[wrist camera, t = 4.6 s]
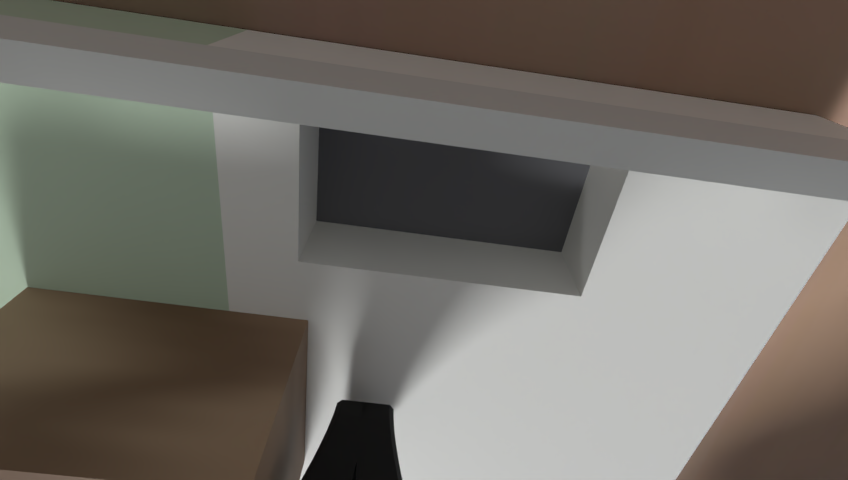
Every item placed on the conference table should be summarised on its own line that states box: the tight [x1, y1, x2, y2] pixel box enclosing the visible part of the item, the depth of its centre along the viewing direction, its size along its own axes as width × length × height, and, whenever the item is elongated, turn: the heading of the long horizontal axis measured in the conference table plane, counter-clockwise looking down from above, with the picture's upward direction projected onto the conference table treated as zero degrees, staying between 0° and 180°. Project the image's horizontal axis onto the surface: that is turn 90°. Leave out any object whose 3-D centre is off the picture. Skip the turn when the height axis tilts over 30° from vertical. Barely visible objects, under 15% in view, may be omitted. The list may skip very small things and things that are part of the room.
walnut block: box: [0, 287, 308, 480], centre depth 10 cm, size 6×5×4 cm
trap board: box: [0, 0, 848, 480], centre depth 12 cm, size 20×16×4 cm
